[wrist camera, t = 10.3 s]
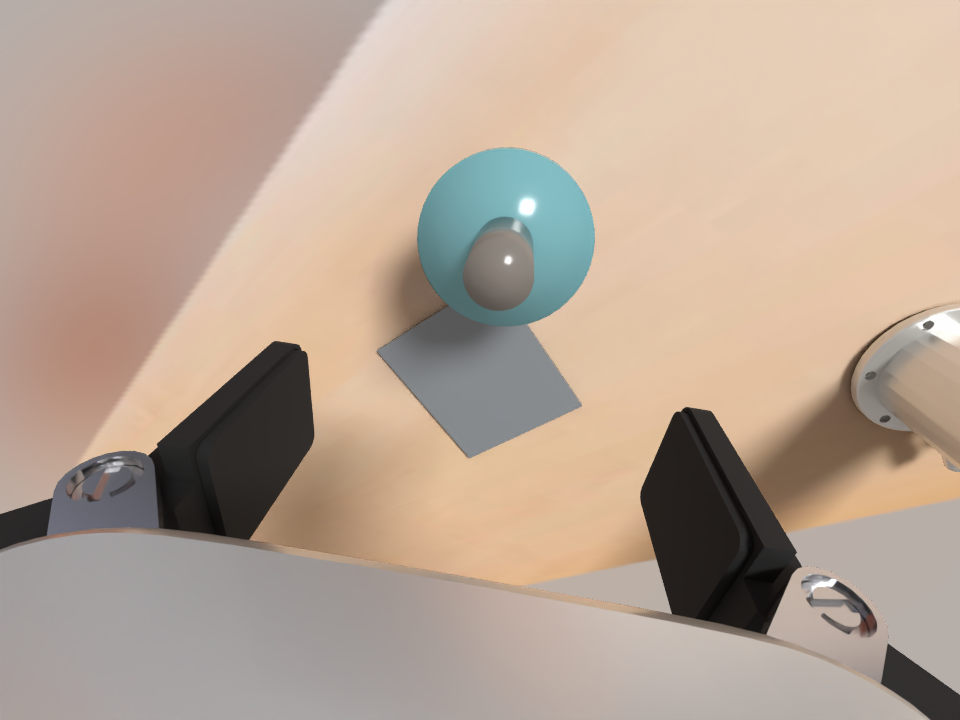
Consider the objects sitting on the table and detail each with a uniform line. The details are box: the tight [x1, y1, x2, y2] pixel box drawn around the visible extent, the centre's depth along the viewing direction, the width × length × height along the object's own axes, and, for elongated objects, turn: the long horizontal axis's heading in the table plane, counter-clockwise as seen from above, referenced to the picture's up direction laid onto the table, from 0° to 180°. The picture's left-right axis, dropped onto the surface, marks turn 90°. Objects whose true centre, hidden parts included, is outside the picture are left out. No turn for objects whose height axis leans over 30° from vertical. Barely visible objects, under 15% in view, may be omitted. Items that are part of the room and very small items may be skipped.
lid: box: [417, 147, 595, 327], centre depth 25 cm, size 11×11×7 cm
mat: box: [377, 305, 582, 458], centre depth 44 cm, size 16×14×1 cm
